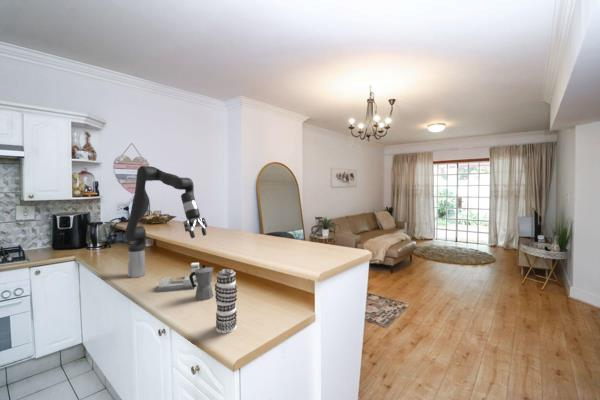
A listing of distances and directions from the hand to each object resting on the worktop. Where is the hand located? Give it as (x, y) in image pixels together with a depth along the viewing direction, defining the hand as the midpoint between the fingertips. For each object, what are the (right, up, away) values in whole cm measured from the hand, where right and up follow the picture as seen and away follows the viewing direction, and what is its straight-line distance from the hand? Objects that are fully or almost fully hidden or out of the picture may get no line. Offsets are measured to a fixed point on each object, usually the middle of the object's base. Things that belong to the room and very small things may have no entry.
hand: (199, 236), depth 154 cm
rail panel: (-15, -31, +6) cm, 35 cm away
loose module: (-12, -30, +24) cm, 40 cm away
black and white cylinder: (+27, -34, -39) cm, 58 cm away
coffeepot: (+5, -32, -9) cm, 34 cm away
